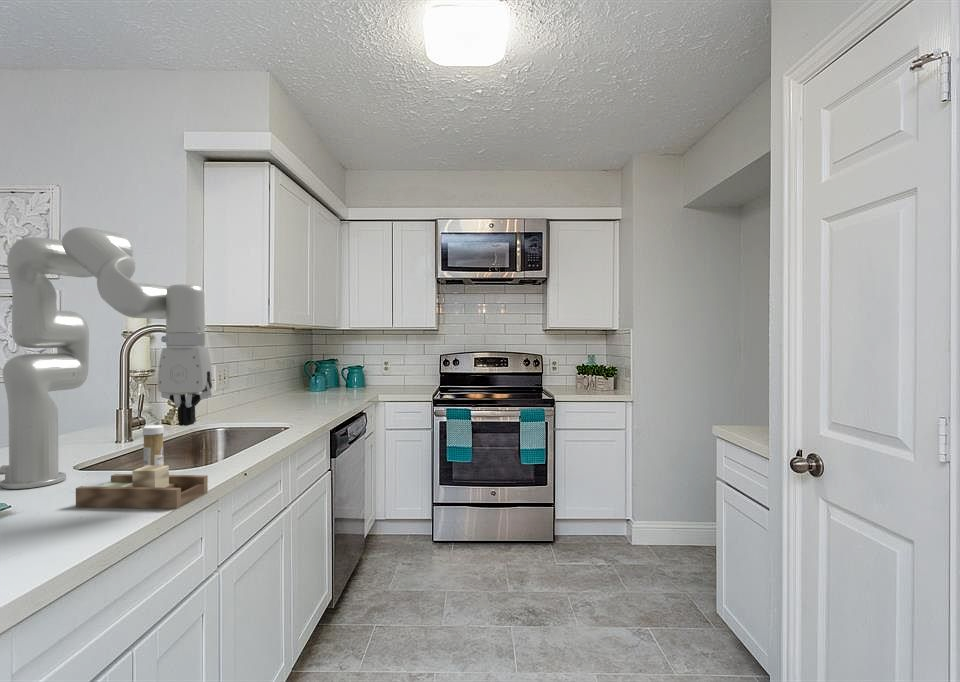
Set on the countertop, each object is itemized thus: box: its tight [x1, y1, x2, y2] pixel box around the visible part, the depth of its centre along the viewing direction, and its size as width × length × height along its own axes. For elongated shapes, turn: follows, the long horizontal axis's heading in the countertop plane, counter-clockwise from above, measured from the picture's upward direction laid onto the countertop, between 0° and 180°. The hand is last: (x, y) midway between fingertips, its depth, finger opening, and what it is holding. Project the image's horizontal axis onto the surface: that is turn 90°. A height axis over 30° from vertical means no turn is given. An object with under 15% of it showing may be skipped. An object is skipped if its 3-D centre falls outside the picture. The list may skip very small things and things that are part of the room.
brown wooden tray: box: [75, 473, 209, 510], centre depth 124 cm, size 22×12×4 cm, turn 87°
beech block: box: [131, 465, 170, 488], centre depth 124 cm, size 5×5×4 cm
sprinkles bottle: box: [142, 424, 165, 467], centre depth 141 cm, size 5×5×14 cm
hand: (186, 424), depth 123 cm, fingers closed
